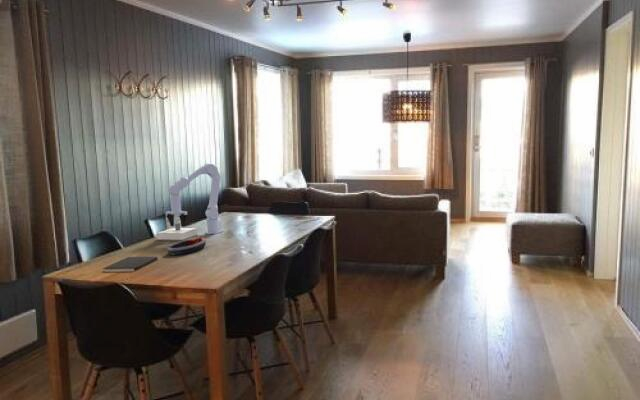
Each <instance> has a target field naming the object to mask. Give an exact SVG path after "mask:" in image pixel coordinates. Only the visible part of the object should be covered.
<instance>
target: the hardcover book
mask: <svg viewBox="0 0 640 400" xmlns="http://www.w3.org/2000/svg"><path fill="white" fill-rule="evenodd" d="M157 261H158V257H157V256H127V257H126V258H123V259H121V260H119V261H116V262H114V263H111V264H110V265H107V266H105V267H102V269H103V272H107V273H111V272H115V273H116V272H118V273H119V272H137V271H138V270H141V269H142V268H145V267H146V266H148V265H151V264H152V263H154V262H157Z"/></svg>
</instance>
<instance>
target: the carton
mask: <svg viewBox="0 0 640 400" xmlns="http://www.w3.org/2000/svg"><path fill="white" fill-rule="evenodd" d="M196 237H198V230H197V229H195V230H192V231H165V230H162V231H159V232H156V240H157V239H158V240H157V241H174V242H175V241H176V242H181V241H184V240H189V239H193V238H196Z"/></svg>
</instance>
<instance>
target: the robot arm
mask: <svg viewBox="0 0 640 400" xmlns="http://www.w3.org/2000/svg"><path fill="white" fill-rule="evenodd" d="M200 175H207V176H209V177H210V178H211V186H210V187H211V188H210V194H209V201H208V202H209V203H208V205H207V208H206V210H205V211H204V212H205V213H204V214H205V216H206V228H207V230H206V231H207V232H205V233H204V234H205V235H217V234H219V233H222V232H224V230H223V228H222V220H221V219H220V218H219V211H218V210H219V207H218V201H219V200H218V199H219V193H220V185H221V175H220V172H219V169H218V167H217V166H216V165H215V164H212V163H205V164H204V165H201V166H200V167H198V168H197V169H196V170H195V171H194V172H192V173H191V174H189V175H188V176H182V177H180V180H178V181H177V182H174V183H173V184H171V185H170V186H169V188H168V192H169V194H170V195H169V196H170V207H171V210H167V211H165V218H166V217H167V218H168V220H169V222H170V225H171V226H174V215H179V217H180V221H181V227H182V228H184V227H185V223H186V220H187V217H188V211H186V210H185V211H184V210H182V205H181V196H180V193H181V191H183V190H185V189H186V188H187V187H189V185H190V184H191V182H192V181H193V180H194V179H196V178H198V177H199V176H200ZM173 213H178V214H173ZM166 215H167V216H166Z"/></svg>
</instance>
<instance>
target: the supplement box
mask: <svg viewBox="0 0 640 400" xmlns="http://www.w3.org/2000/svg"><path fill="white" fill-rule="evenodd" d="M173 214H178V213H173ZM166 216H167V215H166V214H165V222H166V223H165V225H166V230H167V229H171V228H175V224H176V223H178V224H180V228H183V227H181V221H180V217H179V215H174V226H171V225H170V222H169V220H168V218H167V217H166Z"/></svg>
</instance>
